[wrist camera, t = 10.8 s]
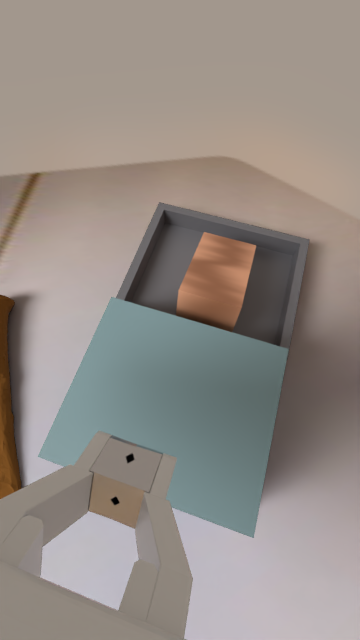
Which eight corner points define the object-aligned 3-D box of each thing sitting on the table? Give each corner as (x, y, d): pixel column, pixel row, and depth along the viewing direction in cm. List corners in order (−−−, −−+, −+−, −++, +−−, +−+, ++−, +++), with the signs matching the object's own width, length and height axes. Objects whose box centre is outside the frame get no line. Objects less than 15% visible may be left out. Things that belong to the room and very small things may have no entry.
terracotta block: (178, 290, 23) (204, 232, 28) (175, 321, 26) (198, 264, 31) (241, 307, 22) (256, 245, 27) (230, 337, 25) (245, 276, 30)
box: (117, 317, 29) (111, 306, 27) (160, 218, 34) (159, 202, 32) (278, 366, 27) (287, 359, 25) (300, 254, 32) (309, 239, 30)
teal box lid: (70, 453, 24) (37, 456, 19) (124, 325, 29) (111, 296, 23) (235, 514, 23) (253, 538, 17) (266, 368, 27) (288, 349, 22)
